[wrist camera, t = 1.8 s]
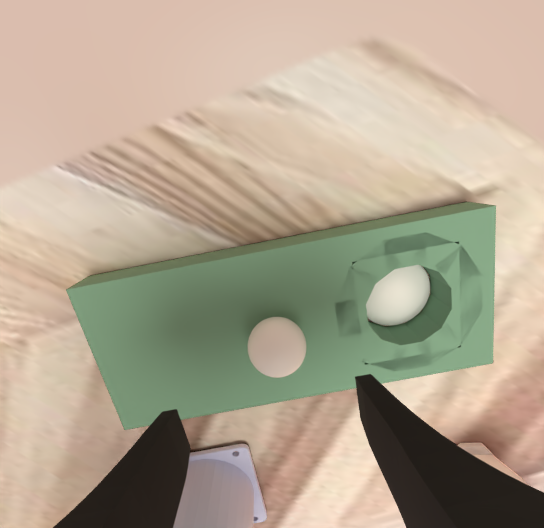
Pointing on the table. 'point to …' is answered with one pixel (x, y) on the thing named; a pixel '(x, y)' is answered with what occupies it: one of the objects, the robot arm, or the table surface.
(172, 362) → the putting strip
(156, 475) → the robot arm
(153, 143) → the table surface
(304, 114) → the table surface
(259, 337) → the ball
